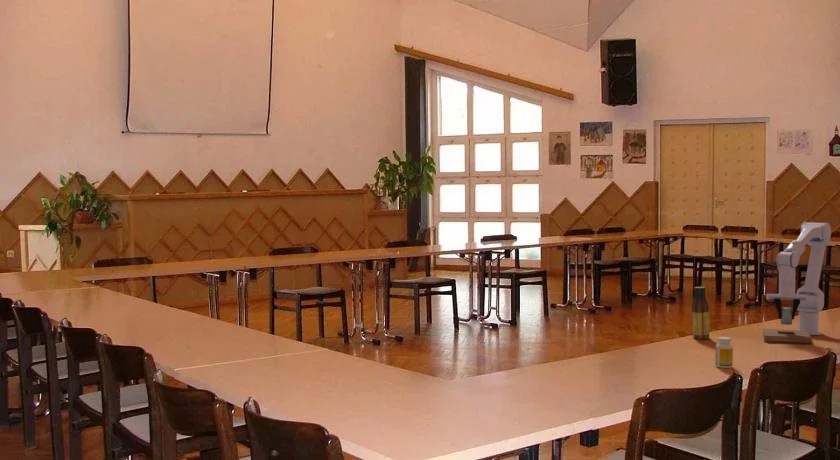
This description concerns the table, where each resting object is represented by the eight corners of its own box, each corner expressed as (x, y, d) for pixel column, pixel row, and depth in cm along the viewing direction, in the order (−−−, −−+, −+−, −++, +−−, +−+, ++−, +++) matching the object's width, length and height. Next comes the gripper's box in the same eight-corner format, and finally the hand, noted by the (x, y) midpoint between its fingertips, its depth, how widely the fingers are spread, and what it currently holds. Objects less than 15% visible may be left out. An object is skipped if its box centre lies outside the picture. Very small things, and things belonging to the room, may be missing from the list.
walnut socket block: (763, 334, 362) (763, 328, 361) (807, 336, 356) (807, 330, 356) (764, 342, 346) (764, 335, 346) (810, 344, 341) (810, 337, 341)
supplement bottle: (711, 366, 305) (712, 337, 304) (723, 364, 307) (723, 335, 307) (724, 369, 300) (724, 339, 299) (736, 367, 303) (736, 338, 302)
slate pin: (780, 322, 354) (780, 307, 353) (791, 323, 352) (791, 307, 352) (781, 324, 350) (781, 308, 349) (792, 324, 349) (792, 309, 348)
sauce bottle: (707, 336, 359) (708, 286, 357) (711, 339, 352) (711, 288, 351) (690, 336, 359) (690, 286, 358) (693, 339, 353) (694, 288, 352)
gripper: (767, 283, 349) (766, 319, 350) (808, 285, 344) (807, 321, 345) (766, 281, 355) (765, 316, 356) (807, 282, 351) (806, 318, 352)
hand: (786, 318), depth 351 cm, fingers closed on slate pin, 4 cm apart
